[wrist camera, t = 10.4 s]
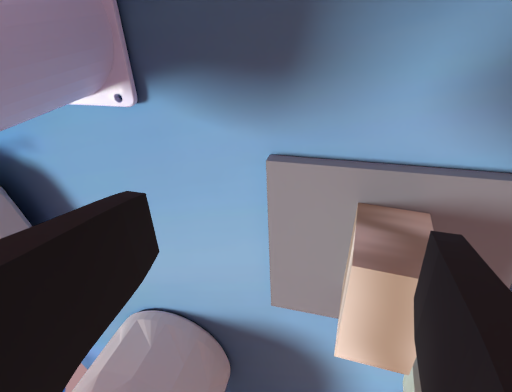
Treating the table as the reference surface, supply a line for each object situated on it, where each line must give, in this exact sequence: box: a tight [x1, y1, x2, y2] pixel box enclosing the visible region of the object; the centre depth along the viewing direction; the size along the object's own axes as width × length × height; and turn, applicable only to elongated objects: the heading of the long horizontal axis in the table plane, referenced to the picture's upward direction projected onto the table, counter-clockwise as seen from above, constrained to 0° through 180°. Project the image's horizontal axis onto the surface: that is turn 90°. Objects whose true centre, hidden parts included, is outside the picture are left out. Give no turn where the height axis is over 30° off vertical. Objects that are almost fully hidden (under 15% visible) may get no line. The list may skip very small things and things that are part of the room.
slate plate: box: [266, 155, 512, 319], centre depth 20 cm, size 13×11×1 cm
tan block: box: [334, 203, 434, 375], centre depth 18 cm, size 4×6×5 cm, turn 0°
